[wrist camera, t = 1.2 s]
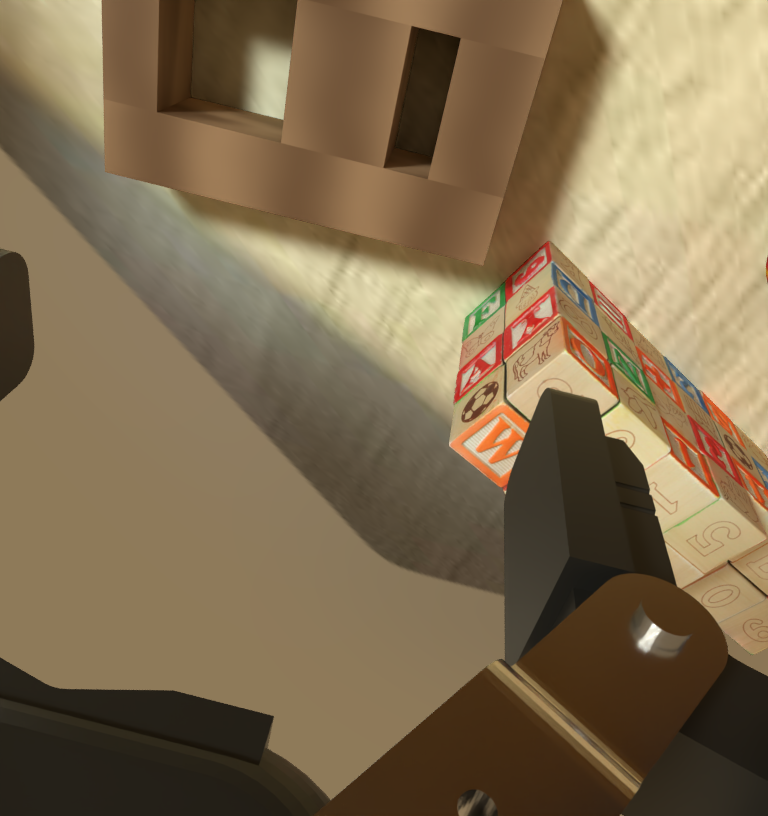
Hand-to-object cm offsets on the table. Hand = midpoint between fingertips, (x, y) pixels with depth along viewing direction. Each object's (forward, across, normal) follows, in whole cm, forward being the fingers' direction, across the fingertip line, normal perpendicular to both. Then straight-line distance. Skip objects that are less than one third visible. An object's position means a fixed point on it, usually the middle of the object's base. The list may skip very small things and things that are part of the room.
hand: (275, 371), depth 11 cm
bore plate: (+26, +5, 0) cm, 27 cm away
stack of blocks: (+26, -15, +13) cm, 33 cm away
